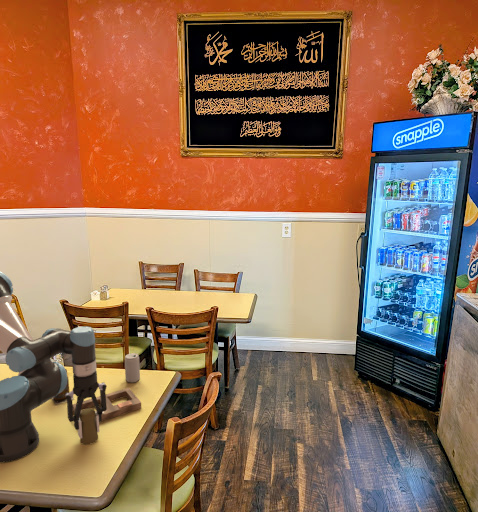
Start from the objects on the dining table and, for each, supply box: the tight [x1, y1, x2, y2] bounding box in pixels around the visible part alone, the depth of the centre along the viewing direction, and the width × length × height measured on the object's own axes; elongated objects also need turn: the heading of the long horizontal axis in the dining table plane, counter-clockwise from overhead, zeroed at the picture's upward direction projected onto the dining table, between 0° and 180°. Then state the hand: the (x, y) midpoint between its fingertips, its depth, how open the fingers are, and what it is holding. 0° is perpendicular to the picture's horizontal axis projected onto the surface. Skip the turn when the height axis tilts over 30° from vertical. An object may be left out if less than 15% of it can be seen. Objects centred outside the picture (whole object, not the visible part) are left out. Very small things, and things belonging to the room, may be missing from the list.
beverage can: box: [124, 352, 141, 383], centre depth 177 cm, size 6×6×12 cm
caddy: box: [72, 387, 142, 424], centre depth 155 cm, size 23×14×3 cm, turn 126°
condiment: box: [51, 368, 75, 406], centre depth 161 cm, size 7×8×12 cm
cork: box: [79, 407, 99, 446], centre depth 136 cm, size 6×6×11 cm
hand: (88, 433), depth 136 cm, fingers closed on cork, 5 cm apart
